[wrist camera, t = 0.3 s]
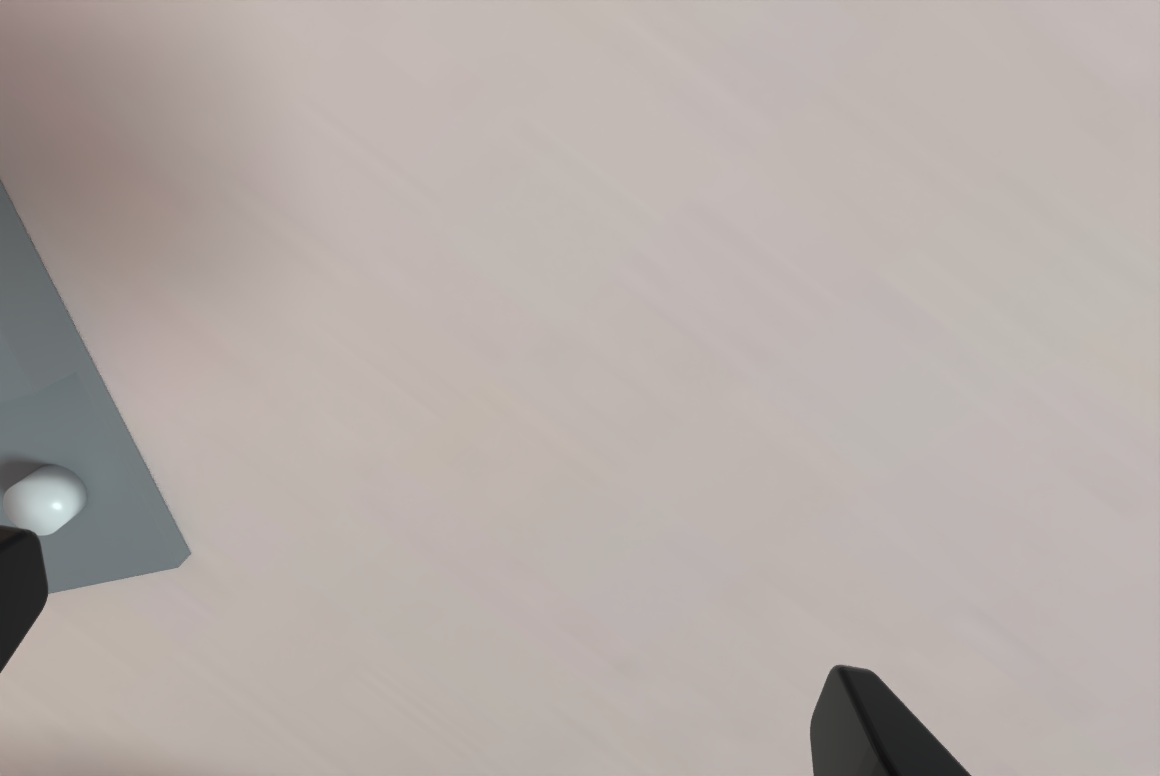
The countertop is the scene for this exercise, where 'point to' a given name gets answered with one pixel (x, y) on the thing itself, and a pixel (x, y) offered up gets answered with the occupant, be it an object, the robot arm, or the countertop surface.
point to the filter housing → (68, 439)
